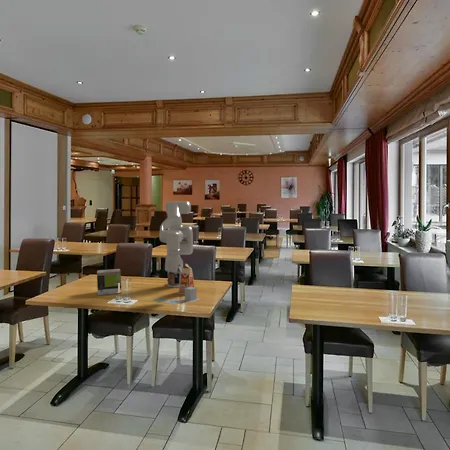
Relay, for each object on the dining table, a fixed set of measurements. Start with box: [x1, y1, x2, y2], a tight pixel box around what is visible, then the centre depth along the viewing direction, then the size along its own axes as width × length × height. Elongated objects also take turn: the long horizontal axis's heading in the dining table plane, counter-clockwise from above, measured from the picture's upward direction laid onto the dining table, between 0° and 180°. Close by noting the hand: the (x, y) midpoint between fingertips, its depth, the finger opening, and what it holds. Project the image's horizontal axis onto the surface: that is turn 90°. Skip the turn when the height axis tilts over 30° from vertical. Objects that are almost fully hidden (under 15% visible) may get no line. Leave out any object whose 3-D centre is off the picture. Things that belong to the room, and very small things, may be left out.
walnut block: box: [167, 272, 180, 286], centre depth 239 cm, size 5×5×7 cm
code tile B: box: [180, 297, 201, 303], centre depth 245 cm, size 9×9×1 cm
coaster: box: [152, 297, 168, 303], centre depth 243 cm, size 7×7×1 cm
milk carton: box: [177, 263, 196, 295], centre depth 261 cm, size 9×9×20 cm
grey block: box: [184, 286, 197, 301], centre depth 244 cm, size 5×5×7 cm
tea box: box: [96, 268, 122, 296], centre depth 263 cm, size 15×10×15 cm, turn 108°
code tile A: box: [164, 298, 185, 306], centre depth 240 cm, size 9×9×1 cm
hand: (173, 282), depth 240 cm, fingers closed on walnut block, 5 cm apart
